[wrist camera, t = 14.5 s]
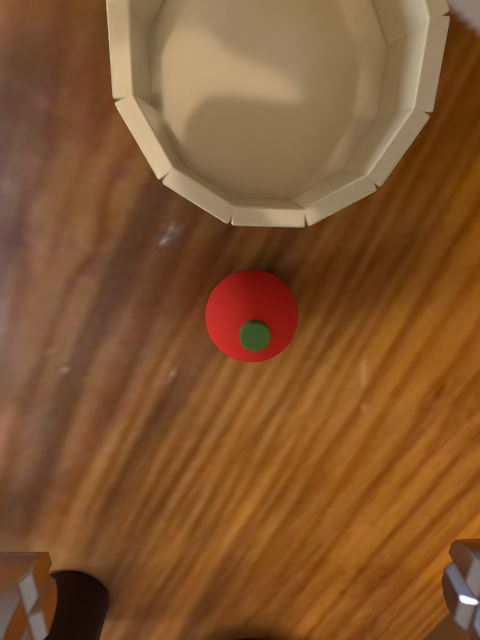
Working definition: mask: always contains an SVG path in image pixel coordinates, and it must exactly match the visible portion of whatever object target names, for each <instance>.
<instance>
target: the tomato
mask: <svg viewBox="0 0 480 640" xmlns="http://www.w3.org/2000/svg"><path fill="white" fill-rule="evenodd" d="M205 318H206V326H207V330H208V332H209V335H210V337H211V339H212V341H213V342H214V343H215V345H216V346H217V347H218V348H219V349H220V350H221V351H222V352H223V353H225V354H226V355H228V356H229V357H231V358H234V359H236V360H240V361H244V362H259V361H264V360H267V359H270V358H272V357H274V356H276V355H277V354H279V353H280V352H281V351H283V350H284V349H285V348H286V347H287V345H288V344H289V343H290V341H291V340H292V338H293V336H294V334H295V331H296V328H297V323H298V309H297V304H296V301H295V298H294V296H293V294H292V292H291V291H290V289H289V288H288V286H287V285H286V284H285V283H284V282H283V281H282V280H281V279H279V278H278V277H276V276H274V275H272V274H270V273H268V272H265V271H261V270H253V269H251V270H242V271H238V272H235V273H233V274H231V275H229V276H227V277H226V278H224V279H223V280H222V281H221V282H220V283H219V284H218V285H217V286H216V287H215V288H214V290H213V291H212V293H211V295H210V297H209V299H208V302H207V306H206V313H205Z"/></svg>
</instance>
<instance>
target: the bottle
mask: <svg viewBox="0 0 480 640" xmlns="http://www.w3.org/2000/svg"><path fill="white" fill-rule="evenodd" d="M50 576H52V577H53V578H54V579H55V580H56V585H57V604H56V610H55V615H54V619H53V622H52V625H51V628H50V631H49V634H48V636H47V637H46V638H45V639H44V640H99V639H100V635H101V631H102V628H103V624H104V620H105V616H106V612H107V608H108V598H107V594H106V592H105V591H104V589H103V588H102V586H101V585H100V584H98V583H97V582H96V581H94V580H93V579H92V578H89V577H87V576H84V575H82V574H77V573H71V572H65V573H56V574H52V575H50Z"/></svg>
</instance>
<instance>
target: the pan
mask: <svg viewBox="0 0 480 640" xmlns="http://www.w3.org/2000/svg"><path fill="white" fill-rule="evenodd" d="M106 6H107V21H108V35H109V50H110V65H111V79H112V94H113V98H115V99H117V100H118V101H116V102H115V106H116V107H117V109H118V111H119V112H120V114H121V116H122V118H123V119H124V121H125V123H126V125H127V126H128V128H129V130H130V132H131V133H132V135H133V137H134V138H135V140H136V142H137V144H138V145H139V147H140V149H141V151H142V152H143V154H144V156H145V158H146V159H147V161H148V163H149V164H150V166H151V168H152V170H153V171H154V173H155V175H156V177H157V178H158V179H162V178H164V179H163V182H162V183H163V184H164V185H165V186H167V187H168V188H170V189H172V190H173V191H175V192H176V193H178V194H180V195H181V196H183V197H184V198H186V199H188V200H189V201H191V202H193V203H194V204H196V205H197V206H199V207H201V208H202V209H204V210H205V211H207V212H209V213H210V214H212V215H213V216H215V217H217V218H218V219H220V220H221V221H223V222H225V223H227V224H228V223H229V222H230V220H231V224H232V225H233V226H264V227H297V228H303V227H305V223H306V224H307V225H308V226H311V225H313V224H315V223H317V222H319V221H321V220H323V219H324V218H326V217H328V216H330V215H332V214H334V213H336V212H338V211H340V210H341V209H343V208H345V207H347V206H349V205H351V204H353V203H355V202H357V201H358V200H360V199H362V198H364V197H366V196H368V195H370V194H372V193H374V192H375V191H376V190H377V188H376V186H378V187H381V186H382V185H383V183H384V182H385V180H386V179H387V178H388V176H389V175H390V173H391V172H392V170H393V169H394V168H395V166H396V165H397V163H398V162H399V161H400V159H401V158H402V156H403V155H404V154H405V152H406V151H407V149H408V148H409V146H410V145H411V144H412V142H413V141H414V139H415V138H416V137H417V135H418V134H419V132H420V131H421V130H422V128H423V127H424V125H425V124H426V122H427V121H428V120H429V118H430V116H429V115H428V114H427V113H430V112H432V111H433V108H434V103H435V97H436V92H437V86H438V81H439V76H440V70H441V65H442V59H443V54H444V48H445V43H446V38H447V32H448V27H449V21H450V16H443V15H445V14H446V13H448V11H449V5H448V2H447V0H106Z"/></svg>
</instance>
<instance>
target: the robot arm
mask: <svg viewBox="0 0 480 640" xmlns="http://www.w3.org/2000/svg"><path fill="white" fill-rule="evenodd" d="M449 554H450V556H451V558H452V559H453V561H452V562H451V563H450V564H449V565H447V566H446V567H445V568H444V572H443V577H442V586H443V595H444V598H445V601H446V604H447V607H448V609H449V611H450V613H451V615H452V618H453V620H454V621H455V622H456V623H457V624H458V625H460V626H461V627H462V628H463V629H464V630H465V631H466V632H468V635H467V640H480V539H460V540H455V541H454V542H453V543H452V544H451V547H450V550H449ZM51 564H52V563H51V559H50V556H49V553H48V552H0V640H44V639H45V638H46V637H47V636H48V634H49V631H50V628H51V625H52V622H53V619H54V615H55V610H56V604H57V585H56V580H55V579H54V578H53V577H52V576H50V575H49V574H48V572H49V569H50V567H51Z"/></svg>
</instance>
